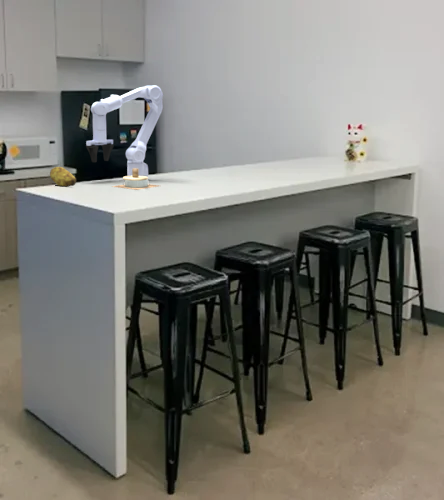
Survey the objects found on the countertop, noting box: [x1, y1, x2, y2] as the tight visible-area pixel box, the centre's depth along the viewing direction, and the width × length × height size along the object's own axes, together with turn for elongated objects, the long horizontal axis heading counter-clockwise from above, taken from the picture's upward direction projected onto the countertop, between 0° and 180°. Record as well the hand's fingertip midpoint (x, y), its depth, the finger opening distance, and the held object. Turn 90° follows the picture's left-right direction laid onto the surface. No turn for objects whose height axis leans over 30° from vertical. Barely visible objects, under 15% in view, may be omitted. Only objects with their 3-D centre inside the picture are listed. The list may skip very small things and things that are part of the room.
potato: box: [49, 166, 77, 187], centre depth 269 cm, size 8×13×8 cm, turn 37°
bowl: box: [124, 179, 149, 188], centre depth 267 cm, size 10×10×3 cm
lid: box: [122, 168, 149, 181], centre depth 267 cm, size 10×10×4 cm
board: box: [111, 183, 160, 191], centre depth 268 cm, size 16×14×1 cm
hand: (100, 161), depth 277 cm, fingers open, 7 cm apart
